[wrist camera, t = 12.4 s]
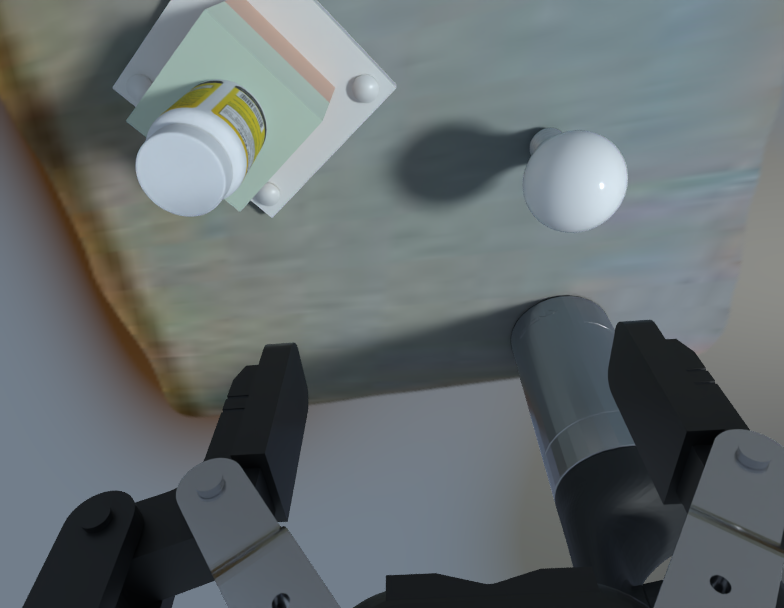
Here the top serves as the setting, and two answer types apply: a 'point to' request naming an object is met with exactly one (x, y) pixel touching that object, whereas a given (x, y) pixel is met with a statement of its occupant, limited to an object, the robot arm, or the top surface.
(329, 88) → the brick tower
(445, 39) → the top surface
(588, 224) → the lightbulb
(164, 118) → the supplement bottle
